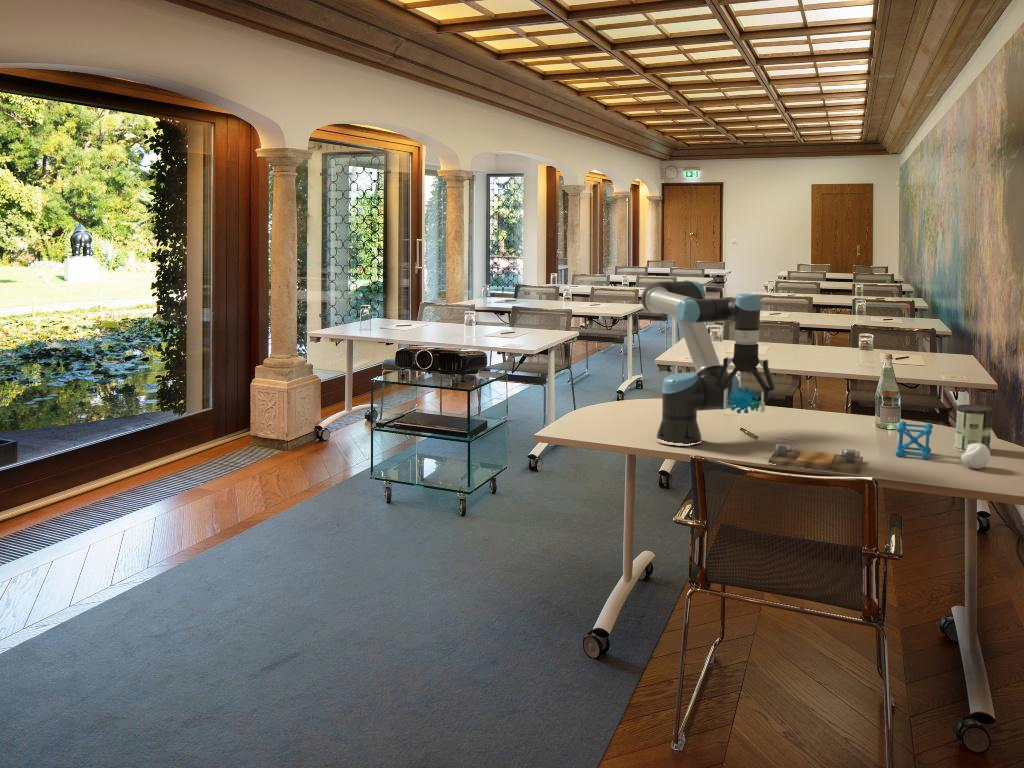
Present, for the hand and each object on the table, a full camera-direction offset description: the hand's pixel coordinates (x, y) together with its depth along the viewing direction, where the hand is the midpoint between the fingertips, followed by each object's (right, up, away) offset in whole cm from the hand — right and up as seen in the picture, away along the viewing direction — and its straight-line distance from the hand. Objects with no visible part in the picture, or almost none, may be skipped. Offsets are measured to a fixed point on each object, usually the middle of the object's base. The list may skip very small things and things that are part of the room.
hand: (743, 410), depth 277 cm
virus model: (0, -1, 0) cm, 1 cm away
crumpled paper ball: (+64, -17, -19) cm, 69 cm away
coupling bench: (+19, -16, -11) cm, 27 cm away
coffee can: (+75, -13, +2) cm, 76 cm away
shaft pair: (+19, -15, -11) cm, 27 cm away
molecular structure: (+53, -14, -3) cm, 55 cm away
